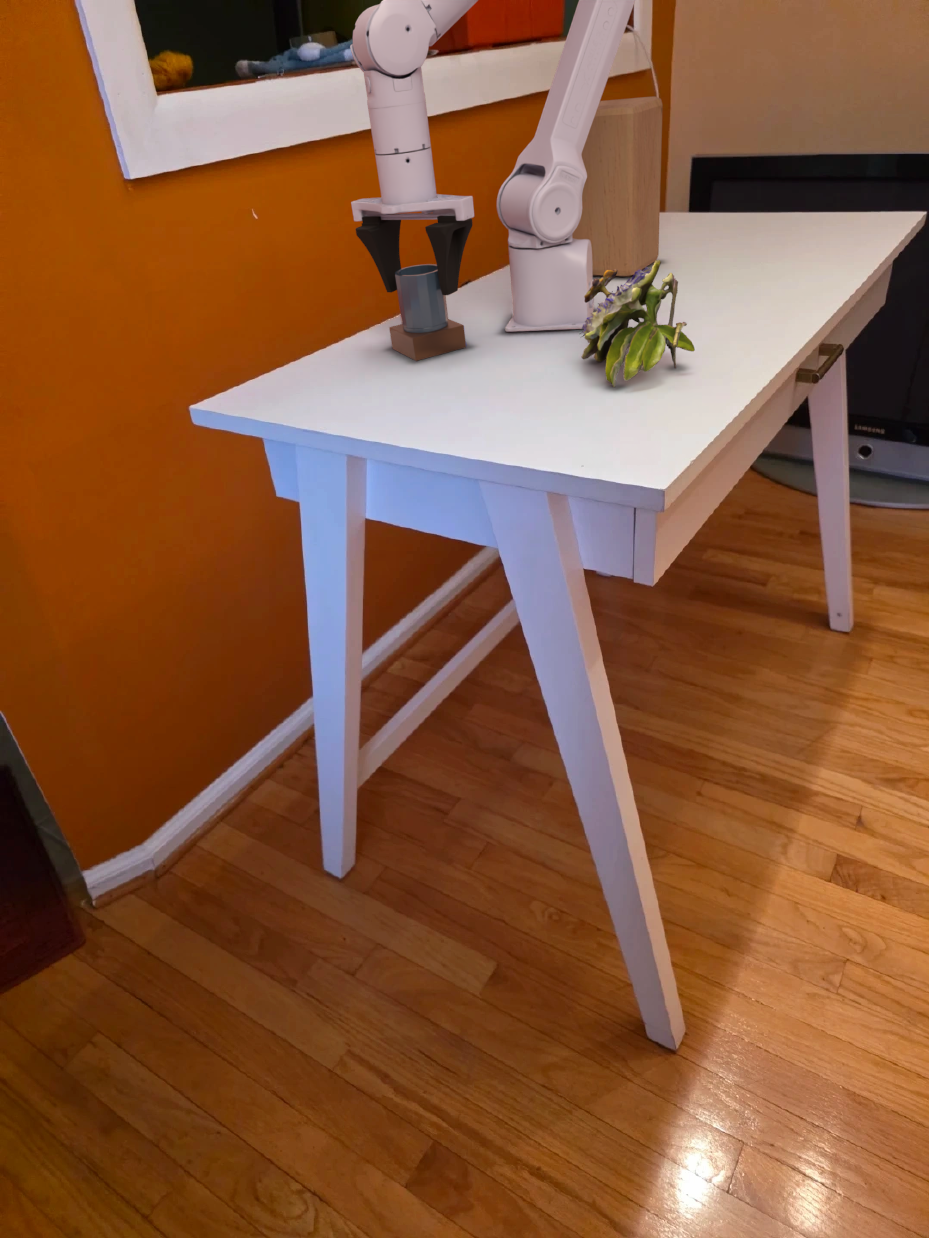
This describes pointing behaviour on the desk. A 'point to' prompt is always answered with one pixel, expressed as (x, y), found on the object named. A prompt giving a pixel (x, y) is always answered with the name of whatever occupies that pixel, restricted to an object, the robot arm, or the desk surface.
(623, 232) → the wooden block
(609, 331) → the passion flower
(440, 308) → the cup
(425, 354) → the block
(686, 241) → the desk surface
